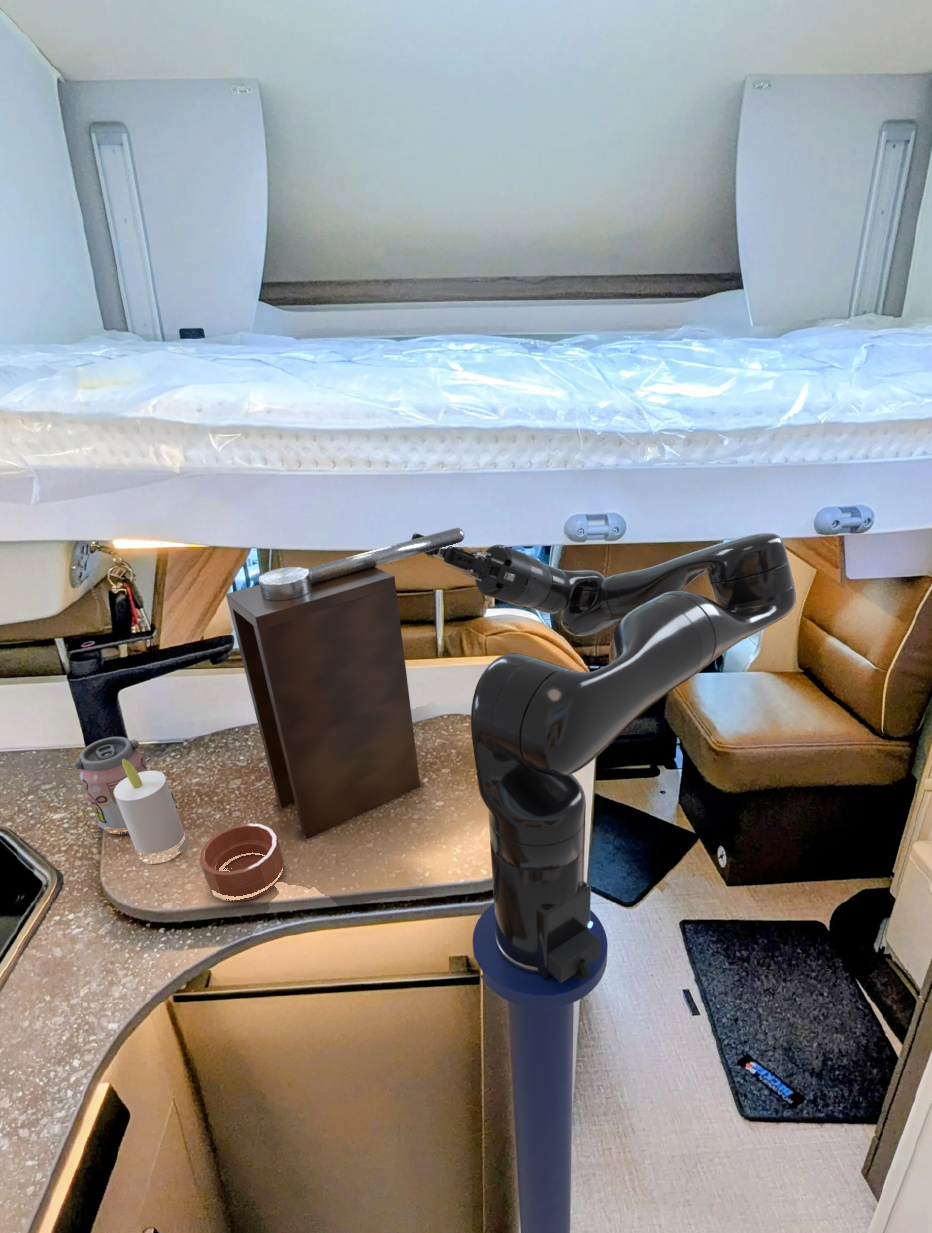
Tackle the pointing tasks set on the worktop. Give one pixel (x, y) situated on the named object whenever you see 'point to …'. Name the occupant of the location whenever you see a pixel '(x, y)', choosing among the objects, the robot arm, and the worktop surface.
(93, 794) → the beverage can
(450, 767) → the worktop surface
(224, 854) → the bowl
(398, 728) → the shelf
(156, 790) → the candle
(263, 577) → the ladle
